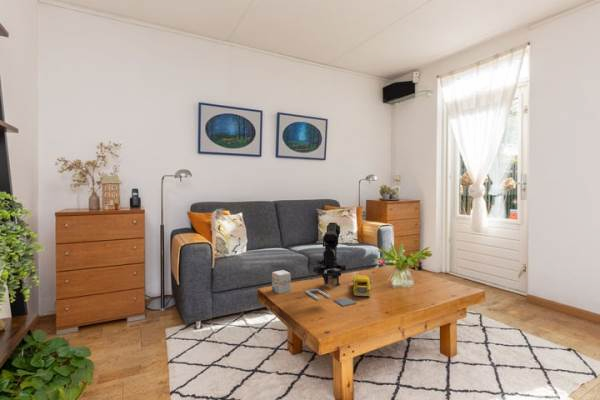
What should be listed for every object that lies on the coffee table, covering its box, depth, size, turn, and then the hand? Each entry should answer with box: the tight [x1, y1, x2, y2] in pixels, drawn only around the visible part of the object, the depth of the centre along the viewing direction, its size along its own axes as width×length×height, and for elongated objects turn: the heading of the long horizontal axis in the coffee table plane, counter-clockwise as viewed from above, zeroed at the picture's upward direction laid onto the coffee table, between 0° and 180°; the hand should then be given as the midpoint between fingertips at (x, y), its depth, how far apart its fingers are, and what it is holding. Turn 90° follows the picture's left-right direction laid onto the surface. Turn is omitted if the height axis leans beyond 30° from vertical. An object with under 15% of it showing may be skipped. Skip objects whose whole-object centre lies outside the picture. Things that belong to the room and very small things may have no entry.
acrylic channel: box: [305, 288, 330, 301], centre depth 189 cm, size 8×14×1 cm, turn 28°
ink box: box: [271, 269, 292, 295], centre depth 196 cm, size 9×8×12 cm
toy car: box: [351, 274, 373, 297], centre depth 197 cm, size 12×25×10 cm, turn 171°
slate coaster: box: [333, 297, 357, 307], centre depth 178 cm, size 9×9×1 cm
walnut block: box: [323, 276, 338, 289], centre depth 176 cm, size 4×6×4 cm
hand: (329, 283), depth 177 cm, fingers closed on walnut block, 4 cm apart
